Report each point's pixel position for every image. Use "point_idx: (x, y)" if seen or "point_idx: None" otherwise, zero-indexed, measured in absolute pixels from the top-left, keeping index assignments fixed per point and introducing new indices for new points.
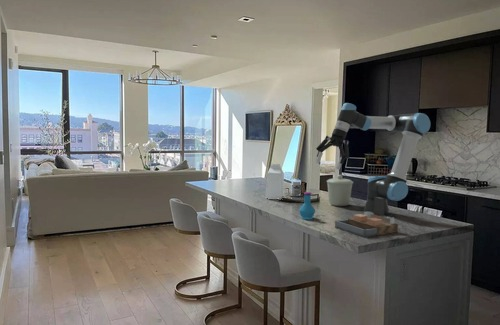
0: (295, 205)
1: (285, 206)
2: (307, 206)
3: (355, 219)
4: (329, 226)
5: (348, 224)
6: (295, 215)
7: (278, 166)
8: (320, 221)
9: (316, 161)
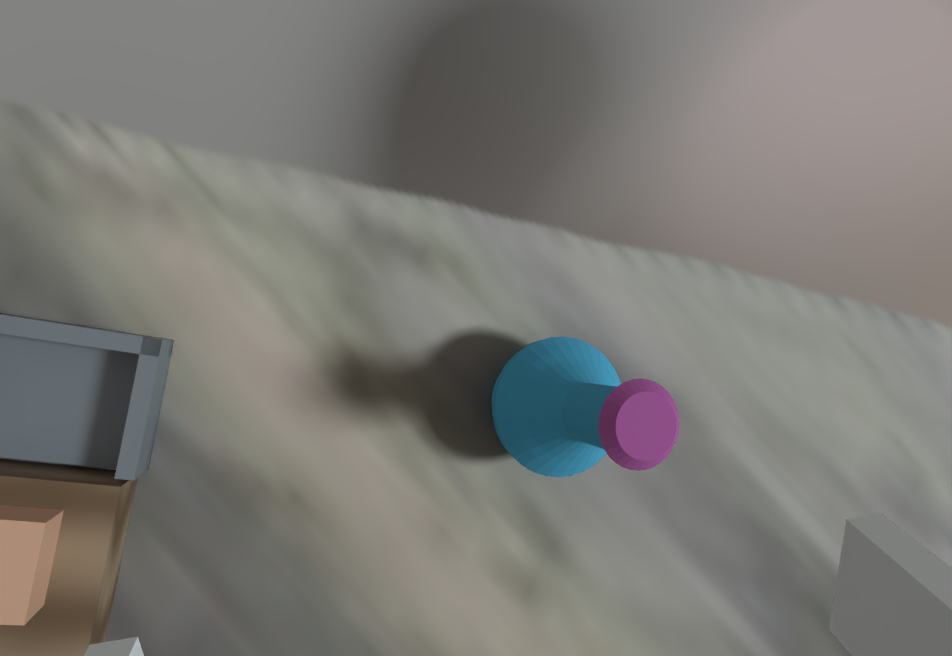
0: None
1: None
2: (549, 379)
3: (27, 508)
4: (231, 333)
5: None
6: None
7: None
8: (393, 403)
9: (887, 536)
